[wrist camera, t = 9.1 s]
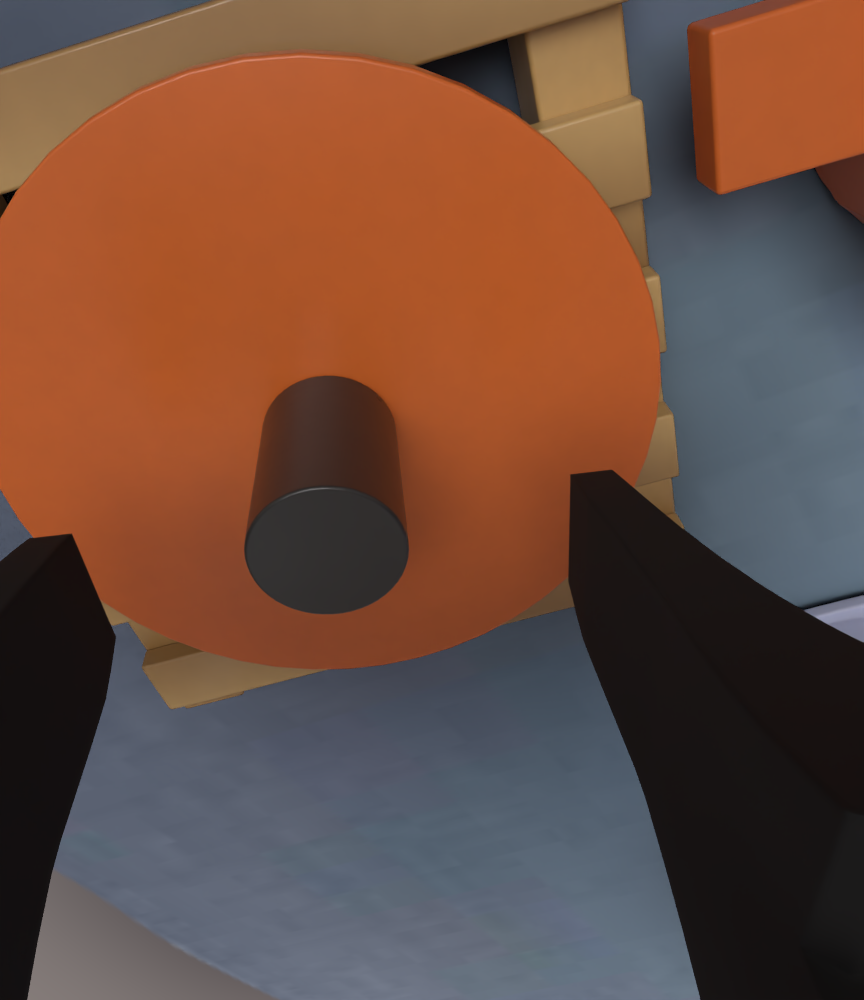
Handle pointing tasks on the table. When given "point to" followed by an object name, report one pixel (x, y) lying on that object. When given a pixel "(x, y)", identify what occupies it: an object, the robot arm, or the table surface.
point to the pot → (780, 96)
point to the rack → (399, 37)
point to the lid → (316, 357)
